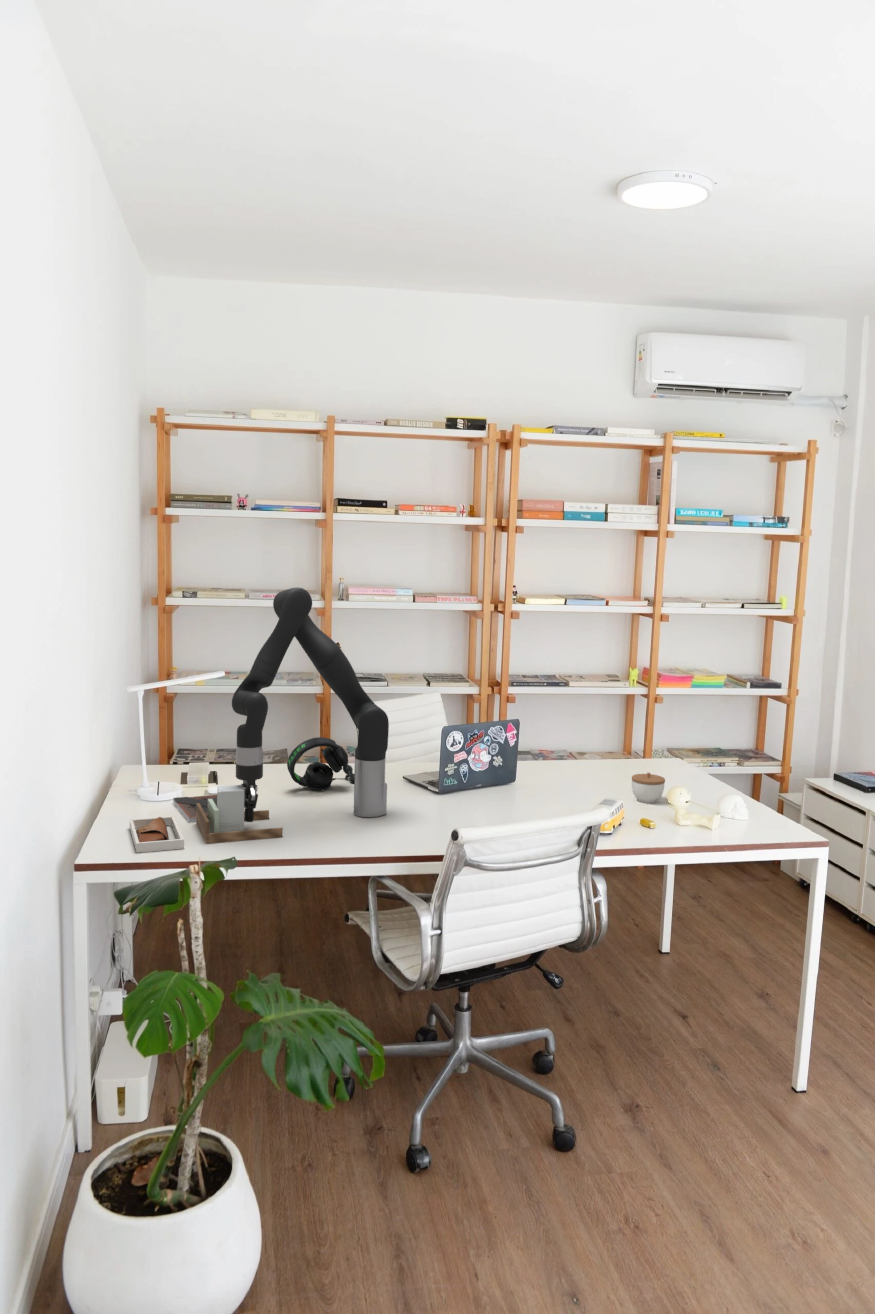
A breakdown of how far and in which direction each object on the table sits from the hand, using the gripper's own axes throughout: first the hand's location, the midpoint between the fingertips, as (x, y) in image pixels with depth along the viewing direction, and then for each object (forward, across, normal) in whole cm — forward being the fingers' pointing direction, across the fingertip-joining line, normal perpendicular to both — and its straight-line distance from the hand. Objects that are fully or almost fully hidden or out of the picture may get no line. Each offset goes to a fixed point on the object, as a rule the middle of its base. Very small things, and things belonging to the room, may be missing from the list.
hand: (249, 821), depth 273 cm
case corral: (+2, -1, +26) cm, 26 cm away
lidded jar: (+3, -4, -130) cm, 131 cm away
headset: (+3, +39, -32) cm, 51 cm away
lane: (+2, 0, +2) cm, 3 cm away
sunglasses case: (+3, -1, +27) cm, 27 cm away
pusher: (+2, 0, +10) cm, 10 cm away
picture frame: (+3, +22, +8) cm, 24 cm away
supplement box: (+3, -1, +5) cm, 6 cm away
